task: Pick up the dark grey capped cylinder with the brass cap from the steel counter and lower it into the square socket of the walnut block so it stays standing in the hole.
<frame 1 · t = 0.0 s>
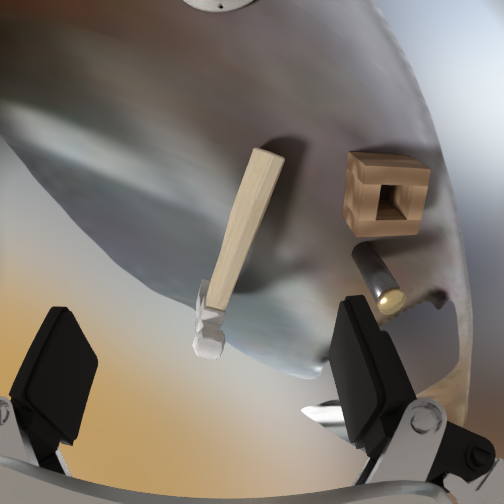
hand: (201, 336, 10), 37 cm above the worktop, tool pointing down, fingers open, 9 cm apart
dark grey capped cylinder: (363, 252, 53), on the worktop
socket block: (376, 185, 46), on the worktop
hammer: (234, 230, 50), on the worktop
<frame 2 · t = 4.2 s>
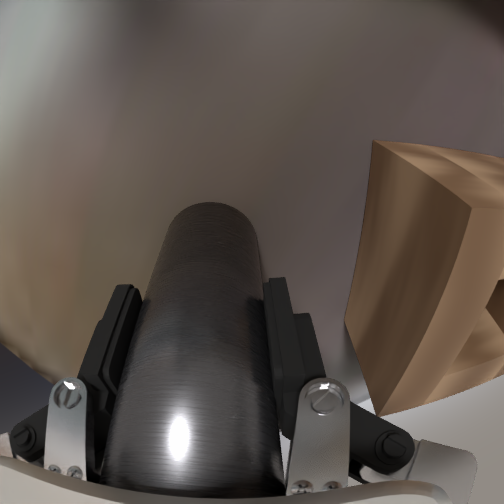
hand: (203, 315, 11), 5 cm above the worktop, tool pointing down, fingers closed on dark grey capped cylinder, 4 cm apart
dark grey capped cylinder: (211, 244, 15), on the worktop, touching gripper
socket block: (441, 240, 15), on the worktop
when the fingers open (8 cm above the worktop, at t = 10.7 s): dark grey capped cylinder drops 3 cm, resting in socket block.
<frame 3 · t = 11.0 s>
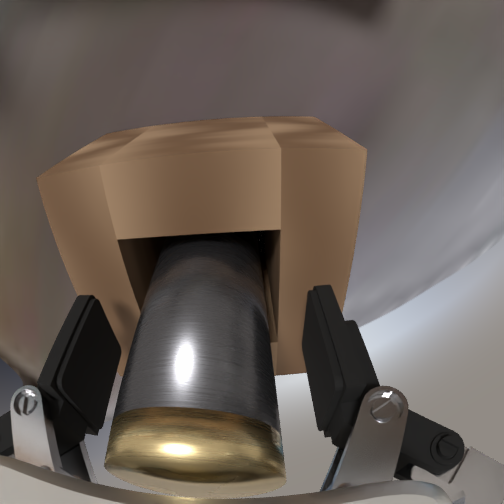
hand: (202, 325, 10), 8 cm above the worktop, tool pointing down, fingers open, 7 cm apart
dark grey capped cylinder: (215, 215, 17), resting in socket block
socket block: (214, 215, 17), on the worktop
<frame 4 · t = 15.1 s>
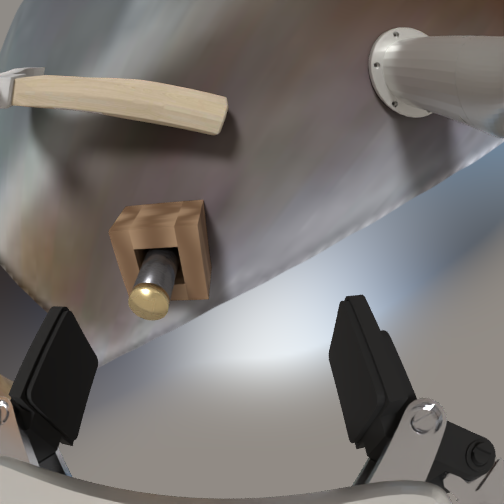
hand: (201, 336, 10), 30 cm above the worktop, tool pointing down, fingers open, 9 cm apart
dark grey capped cylinder: (169, 238, 42), resting in socket block
socket block: (169, 238, 42), on the worktop
hammer: (111, 89, 31), on the worktop
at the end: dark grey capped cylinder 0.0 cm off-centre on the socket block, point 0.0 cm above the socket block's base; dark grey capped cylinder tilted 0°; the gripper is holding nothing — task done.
